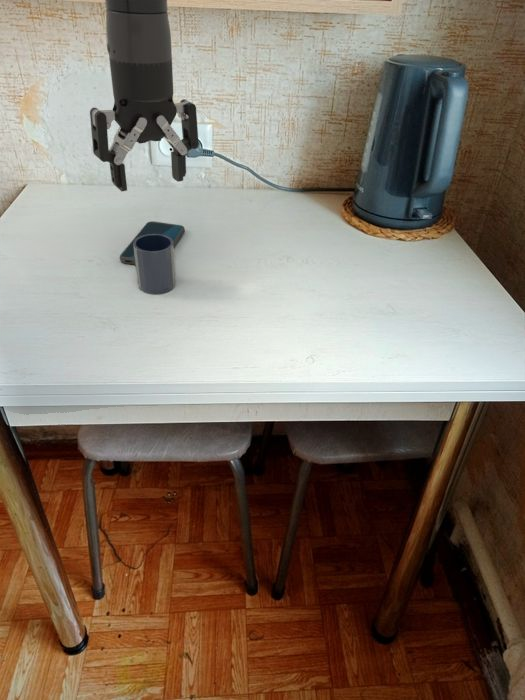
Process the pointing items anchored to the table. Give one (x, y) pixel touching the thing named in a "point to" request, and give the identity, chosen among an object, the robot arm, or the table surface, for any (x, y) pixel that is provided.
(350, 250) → the table surface
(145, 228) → the smartphone
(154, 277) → the pot
